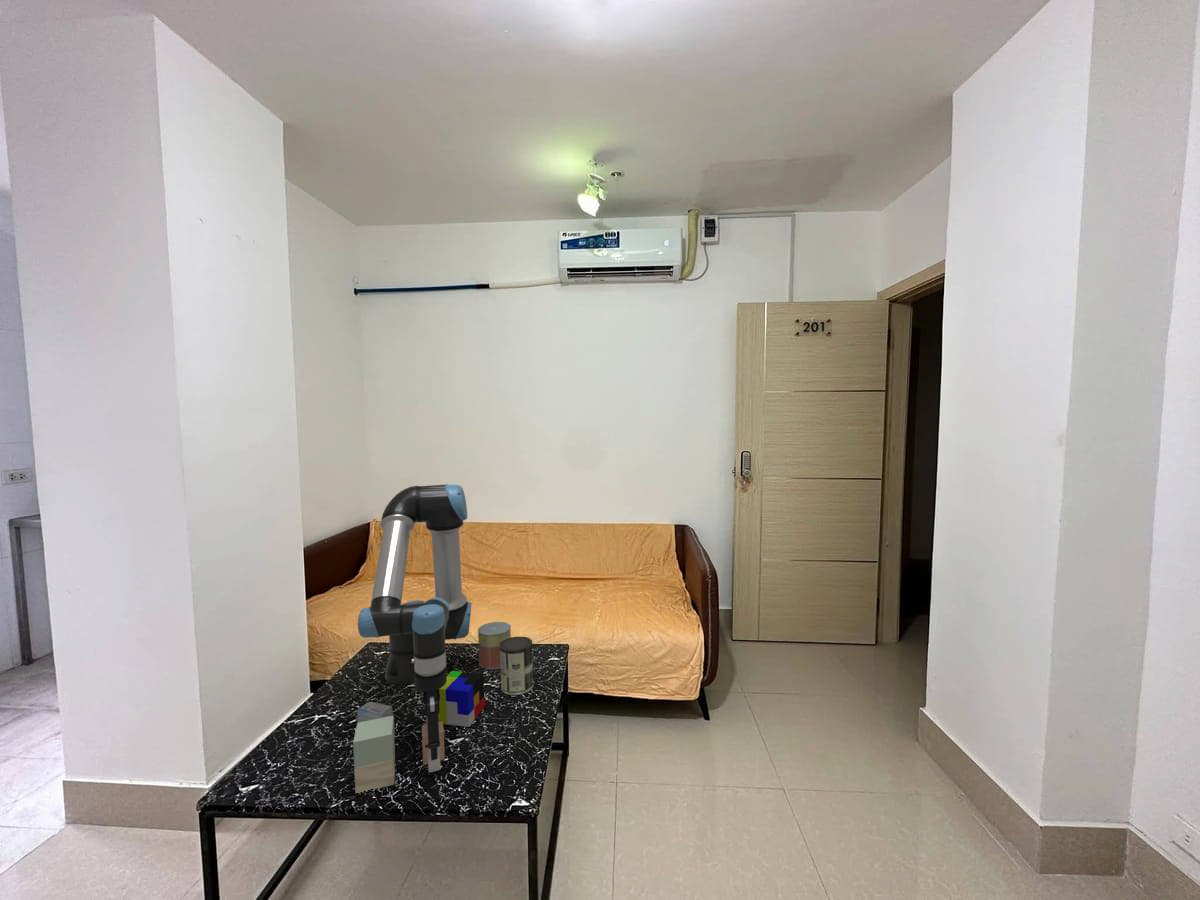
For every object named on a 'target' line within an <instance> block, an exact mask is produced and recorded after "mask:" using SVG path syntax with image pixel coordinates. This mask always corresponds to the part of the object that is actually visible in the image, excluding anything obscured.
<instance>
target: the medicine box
mask: <svg viewBox="0 0 1200 900" xmlns="http://www.w3.org/2000/svg"><path fill="white" fill-rule="evenodd" d="M356 713H357V723H359V722H364V721H369V720H373V719H378V718H383V717H388V716H393V715H394V713H393V706H392V705H388V704H382V703H378V702H372V701H369V702H367V703H365V704H364V705H363V706H361V707H360V708H358V709H357V711H356Z"/></svg>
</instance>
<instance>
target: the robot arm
mask: <svg viewBox="0 0 1200 900" xmlns="http://www.w3.org/2000/svg"><path fill="white" fill-rule="evenodd" d="M381 515H382V516H381V520H380V521H381V522H380V527H381V529H382V536H381V540H380V542H381V543H380V549H379V554H378V559H377V566H376V571H375V576H374V577H375V578H374V583H373V589H372V595H371V602H370V606H368V607H363V608H362V609H360V612H359V615H358V617H357V618H358V619H357V630H358V633H359V635H360V637H362V638H365V639H367V638H380V637H388V636H389V638H388V639H389V656H388V660H387V663H386V667H385V671H384V678H385V679H384V680H385V681H386V682H387V683H389V684H392V685H408V684H412V683H414V687H415V689H416V690H417V691H418V692H422V700H423V701H422V702H423V703H422V704H423V705H424V715H425V716H426V725H427V724H428V745H425V748H428V764H427V765H428V766H427V767H428V773H433V772H436V771H440V770H441V761H440V741H439V724H438V714H439V713H440V712H439V711H440V707H439V701H440V693H439V688H441V687H443V686H444V685H445V684H446V681H447V676H448V675H447V650H446V640H453V641H454V640H455V641H456V640H457V639H463V638H466V637H467V636H468V635H469V633H470V632H469V631H470V626H471V625H470V624H471V612H472V602H471V601H468V599H467V596H466V595H465V594H463V587H462V569H461V565H462V563H461V550H460V549H461V546H460V545H461V544H460V532H459V531H460V529H461V528H462V527H463V526H464V521H466V520H467V519H468V507H467V501H466V495H465V491H464V489H463V486H461V485H459V484H433V485H422V486H421V485H413V486H409V487H407V488H404V489H403V490H401V491H399V492H398V493H397V494H395V495H394V497H393V498H392V499H390V501H389V502H388V503H387V505H386V507H385V509H384V510H383V513H382V514H381ZM416 523H425V528H426V530H427V531H429V532H431V533H430V534H431V546H432V561H433V563H432V564H433V579H434V590H435V591H434V592H435V593H434V594H435V596H433V597H431V598H429V599H427V600H426V601H424V600H419V599H418V600H411V601H406V602H404V603H402V600H403V591H404V585H405V584H404V583H405V575H406V574H405V573H406V567H407V559H408V552H409V550H408V549H409V544H410V543H409V542H410V535H411V532H412V531H413V530H414V528H415V524H416Z"/></svg>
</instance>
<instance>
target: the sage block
mask: <svg viewBox="0 0 1200 900" xmlns="http://www.w3.org/2000/svg"><path fill="white" fill-rule="evenodd" d="M394 717H395V716H394V714H393V716H388V717H383V718H378V719H373V720H369V721H364V722H359V723H358V722H357V724H356V727H355V733H354V737H353V741H352V744H353V749H352V750H353V766H354V768H358V767H362V766H367V765H371V764H375V763H380V762H384V761H388V760H393V752H394V745H395V741H396V740H395V739H396V737H395V718H394Z"/></svg>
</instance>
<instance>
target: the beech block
mask: <svg viewBox="0 0 1200 900" xmlns="http://www.w3.org/2000/svg"><path fill="white" fill-rule="evenodd" d="M395 746H396V745H395V744H394V752H393V760H388V761H384V762H380V763H375V764H371V765H367V766H362V767H358V768H354V785H355V786H354V788H355V790H354V791H355V794H356V793H358V794H361V793H360V792H362V793H365V792H364V791H366V792H369V791H368V790H370V791H372V790H371V789H374V790H378V789H381V788H385V787H389V786H393V785H395V773H396V772H395V771H396V754H395V752H396V751H395V750H396V749H395ZM377 788H378V789H377Z"/></svg>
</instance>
